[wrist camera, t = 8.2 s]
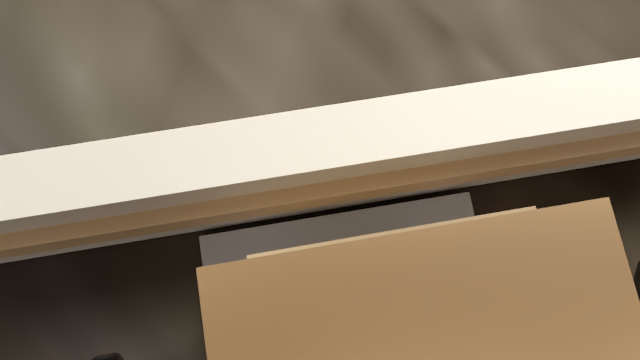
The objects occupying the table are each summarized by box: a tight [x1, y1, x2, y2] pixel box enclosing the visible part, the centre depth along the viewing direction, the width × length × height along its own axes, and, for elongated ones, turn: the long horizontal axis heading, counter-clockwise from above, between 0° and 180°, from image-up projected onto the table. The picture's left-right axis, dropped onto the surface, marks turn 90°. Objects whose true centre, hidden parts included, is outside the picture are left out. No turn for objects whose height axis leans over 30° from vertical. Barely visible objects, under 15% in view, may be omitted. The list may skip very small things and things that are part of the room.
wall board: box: [0, 58, 640, 266], centre depth 14 cm, size 11×26×6 cm, turn 100°
